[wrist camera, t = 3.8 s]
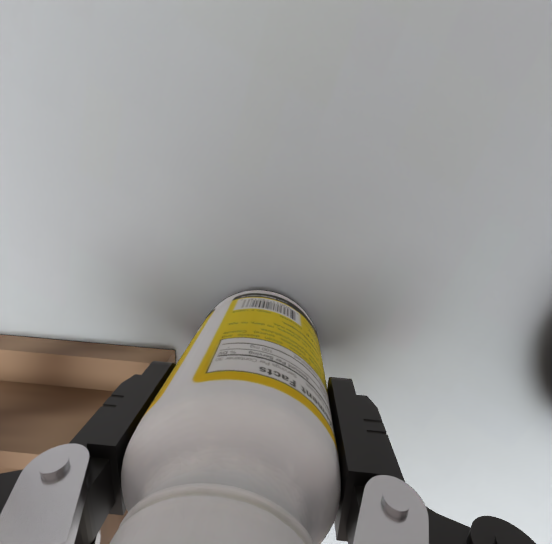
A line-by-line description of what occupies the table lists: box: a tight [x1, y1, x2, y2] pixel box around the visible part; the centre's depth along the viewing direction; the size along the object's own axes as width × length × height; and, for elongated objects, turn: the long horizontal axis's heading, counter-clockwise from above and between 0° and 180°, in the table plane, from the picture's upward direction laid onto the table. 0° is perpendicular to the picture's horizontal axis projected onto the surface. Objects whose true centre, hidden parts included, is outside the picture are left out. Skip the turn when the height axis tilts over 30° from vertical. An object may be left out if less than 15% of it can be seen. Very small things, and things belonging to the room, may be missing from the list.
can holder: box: [0, 335, 175, 544], centre depth 14 cm, size 12×12×5 cm
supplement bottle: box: [110, 290, 341, 544], centre depth 9 cm, size 5×5×10 cm
